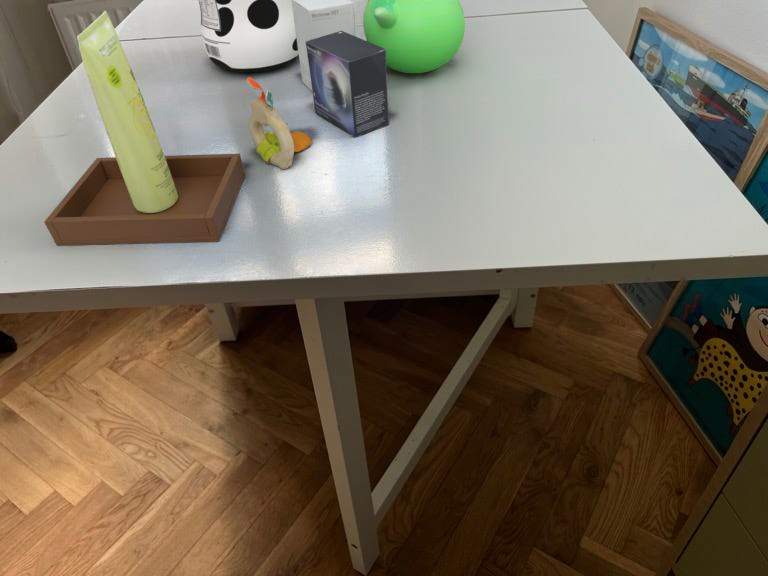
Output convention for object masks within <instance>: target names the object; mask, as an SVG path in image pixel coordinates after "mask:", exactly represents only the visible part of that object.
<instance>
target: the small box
mask: <svg viewBox="0 0 768 576" xmlns="http://www.w3.org/2000/svg"><path fill="white" fill-rule="evenodd" d="M305 43H306V48H307V56H308V63H309V70H310V77H311V84H312V91H313V92H312V91H311V92H312V98H313V106H314V113H315V114H316V115H318V116H319V117H321V118H322V119H324V120H326V121H327V122H329V123H331V124H332V125H334V126H336V127H337V128H339V129H341V130H342V131H344V132H345V133H347V134H349V135H350V136H352V137H353V138H357V137H359V136H363V135H366V134H367V133H370V132H374V131H376V130H379V129H381V128H384V127H386V126H389V125H390V117H389V116H390V115H389V102H388V99H389V98H388V81H387V80H388V79H387V66H386V49H385V48H382V47H380V46H377V45H375V44H373V43H370V42H368V41H367V40H366V39H363V38H360V37H358V36H353V35H351V34H348V33H346V32H344V31H339V32H335V33H332V34H329V35H325V36H322V37H319V38H316V39H312V40H309V41H306V42H305Z"/></svg>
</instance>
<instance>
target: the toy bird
mask: <svg viewBox="0 0 768 576" xmlns="http://www.w3.org/2000/svg"><path fill="white" fill-rule="evenodd" d="M362 16H363V17H362V20H363V21H362V26H363V33H364V37H365V41H368V42H370V43H373V44H375V45H377V46H380V47H382V48H385V49H386V67H388V68H389V69H390V70H391V69H392V70H394V71H397V72H400V73H405V74H423V73H427V72H432V71H434V70H436V69H439V68H441V67H442V66H444V65H445V64H447V63H448V62H449V61H450V60H452V58H454V56H455V55H456V54H457V53H458V51H459V50H460V48H461V45H462V43H463V41H464V38H465V37H464V36H465V31H466V18H465V13H464V10H463V6H462V4H461V1H460V0H367V1H366V4H365V6H364V11H363V15H362Z"/></svg>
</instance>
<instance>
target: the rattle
mask: <svg viewBox="0 0 768 576" xmlns="http://www.w3.org/2000/svg"><path fill="white" fill-rule="evenodd" d="M246 81H247V83H248V85H250V86H251V87H252V88H253V89H255V90H258V91H260V92H261V95H259V96H257V97H255V98H254V99H253V100H252V102H251V112H252V113H251V115H250V117H249V120H248V121H249V122H248V129H249V133H250V138H251V139H252V142H253V143H254V144H253V145H255V147H256V150H255V152H256V153H257V154H258V155H259V156H260V157H261V159H262V160H263V161H264V162H266V163H267V164H268V165H270V164H271V165H273V166H276V167H278V168H280V169H282V170H287V169H288V168H290V167H291V166H292V165H293V158H294V156H295V153H299V152H301V151H304V150H306V149H308V148H309V147H310V146H311V144H312V138H311V136H310V135H308V134H307V133H304V132H302V131H300V130H296V131H292V132H290V129H289V127H288V126H287V123H286V122H285V121H284V120H283V119H282V118H281V116H280V115H279V114H278V112H277V110H276V108H275V106H274V100H273V96H272V95H273V94H272V91H271V90H270V89H269V88H267V89H266V92H265V91H264V90H263V88H262V86H261V85H260V84H259V83H258V82H257V81H256V80H255V79H253V78H252V77H247V78H246ZM264 126H265V127H269V128H270V129H271V130H272V131H273V132H270V131H268V130H267V131H266V132H265V131H264Z"/></svg>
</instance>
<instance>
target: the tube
mask: <svg viewBox="0 0 768 576" xmlns="http://www.w3.org/2000/svg"><path fill="white" fill-rule="evenodd" d="M76 40H77V42H78V49H79V52H80V56H81V59H82V63H83V66H84V69H85V72H86V76H87V78H88V82H89V85H90V88H91V90H92V94H93V96H94V99H95V102H96V105H97V108H98V111H99V114H100V117H101V120H102V123H103V126H104V128H105V131H106V134H107V137H108V139H109V143H110V145H111V148H112V151H113V154H114V157H116V159H117V162H118V165H119V167H120V170H121V173H122V176H123V178H124V181H125V184H126V186H127V189H128V192H129V194H130V197H131V199H132V202H133V205H134V207H135V208H136V209H137V210H138V211H140V212H144V213H156V212H161V211H164V210H166V209H168V208H170V207H171V206H173V205H174V204H175V203H176V201H177V199H178V194H177V191H176V188H175V185H174V182H173V179H172V176H171V173H170V170H169V167H168V165H167V162H166V159H165V156H166V155H165V154H164V151H163V148H162V146H161V142H160V140H159V138H158V135H157V131H156V129H155V126H154V124H153V120H152V118H151V115H150V113H149V111H148V108H147V105H146V103H145V99H144V97H143V94H142V92H141V90H140V87H139V85H138V81H137V80H136V77H135V75H134V72H133V69H132V67H131V65H130V62H129V60H128V57H127V54H126V53H125V50H124V47H123V46H122V43H121V41H120V40H121V39H120V38H119V36H118V33H117V31H116V29H115V27H114V25H113V23H112V21H111V19H110V17H109V15H108V12H107V10H103V12H102V14H100V15H99V16H98V17H97V18H96V19H95V20H93V22H92V23H90V24H89V25H88V26H87V27H86V28H85V29H84V30H83V31H82V32H80V33H79V34H78V35H77V36H76Z"/></svg>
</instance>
